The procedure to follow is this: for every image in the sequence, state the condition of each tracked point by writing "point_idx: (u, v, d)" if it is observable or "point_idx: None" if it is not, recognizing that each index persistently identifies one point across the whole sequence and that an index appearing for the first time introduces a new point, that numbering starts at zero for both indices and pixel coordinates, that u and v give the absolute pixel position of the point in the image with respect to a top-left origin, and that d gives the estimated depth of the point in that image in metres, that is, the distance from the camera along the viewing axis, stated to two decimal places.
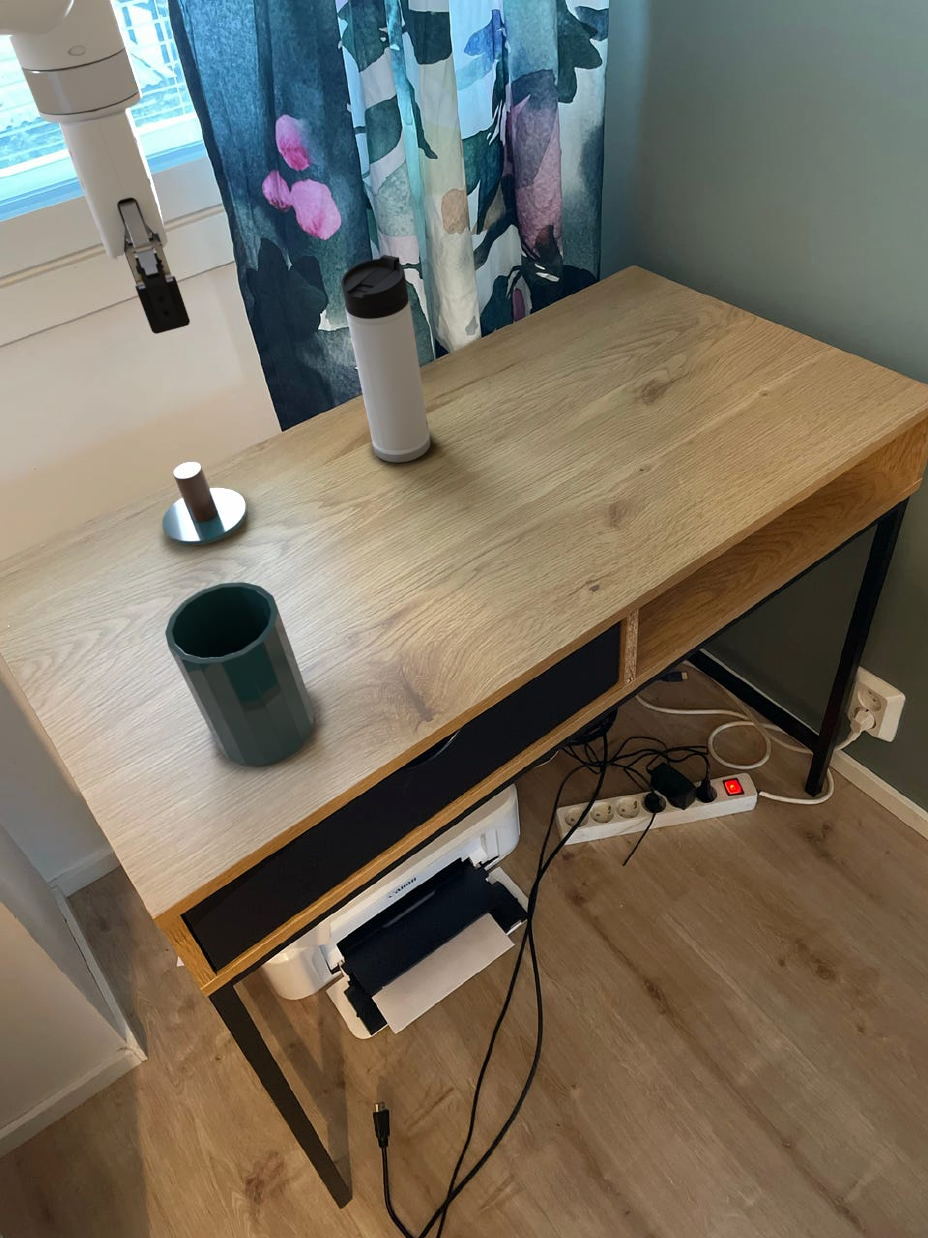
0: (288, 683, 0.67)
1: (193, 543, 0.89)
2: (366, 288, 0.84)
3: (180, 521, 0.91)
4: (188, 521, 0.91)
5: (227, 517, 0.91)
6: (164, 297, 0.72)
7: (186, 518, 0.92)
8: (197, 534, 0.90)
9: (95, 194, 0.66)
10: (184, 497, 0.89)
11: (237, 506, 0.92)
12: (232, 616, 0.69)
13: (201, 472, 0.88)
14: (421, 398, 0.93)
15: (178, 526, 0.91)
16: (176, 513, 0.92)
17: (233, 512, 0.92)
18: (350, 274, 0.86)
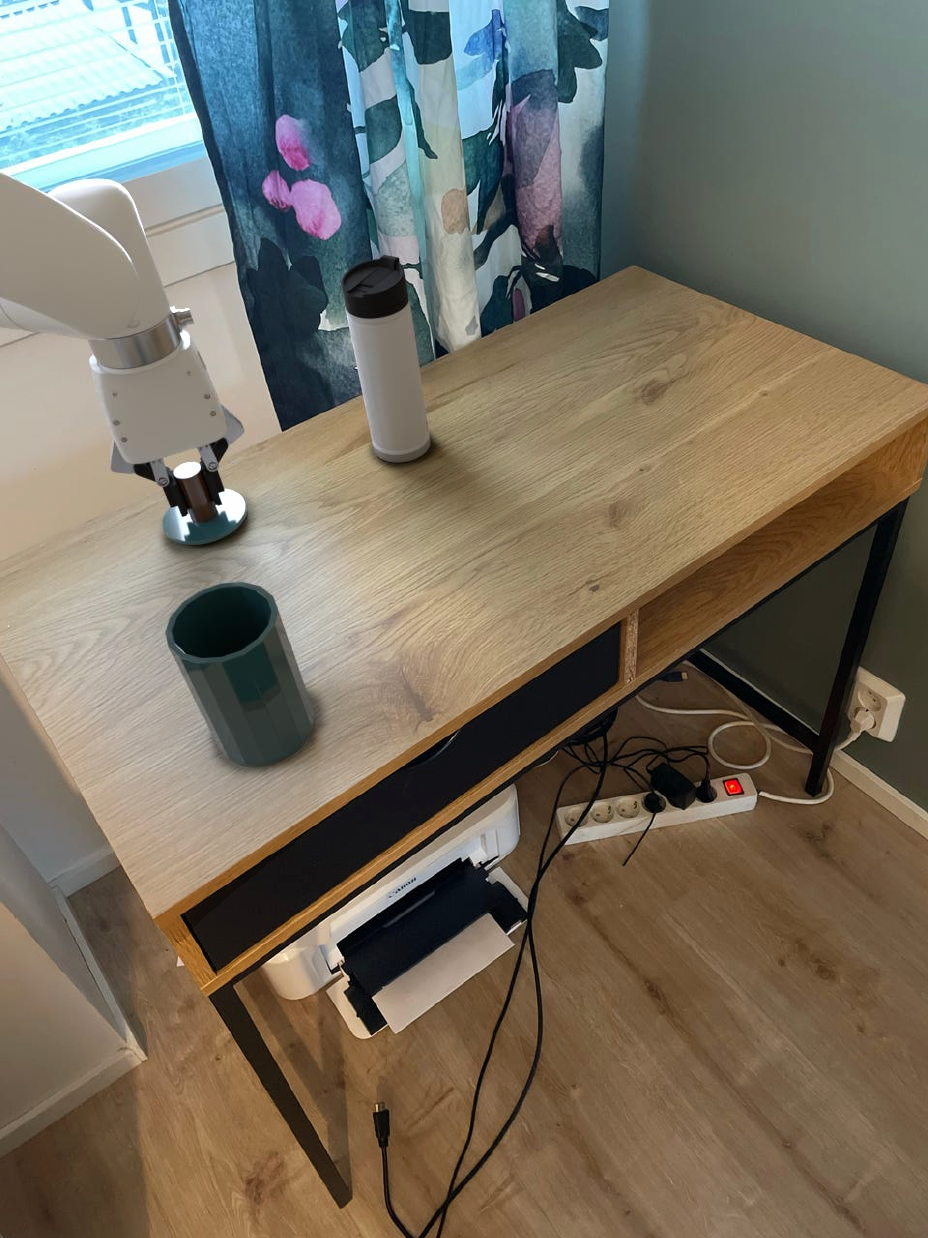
0: (288, 683, 0.67)
1: (193, 543, 0.89)
2: (366, 288, 0.84)
3: (180, 521, 0.91)
4: (188, 521, 0.91)
5: (227, 517, 0.91)
6: (163, 489, 0.88)
7: (186, 518, 0.92)
8: (197, 534, 0.90)
9: None
10: (184, 497, 0.89)
11: (237, 506, 0.92)
12: (232, 616, 0.69)
13: (201, 472, 0.88)
14: (421, 398, 0.93)
15: (178, 526, 0.91)
16: (176, 513, 0.92)
17: (233, 512, 0.92)
18: (350, 274, 0.86)
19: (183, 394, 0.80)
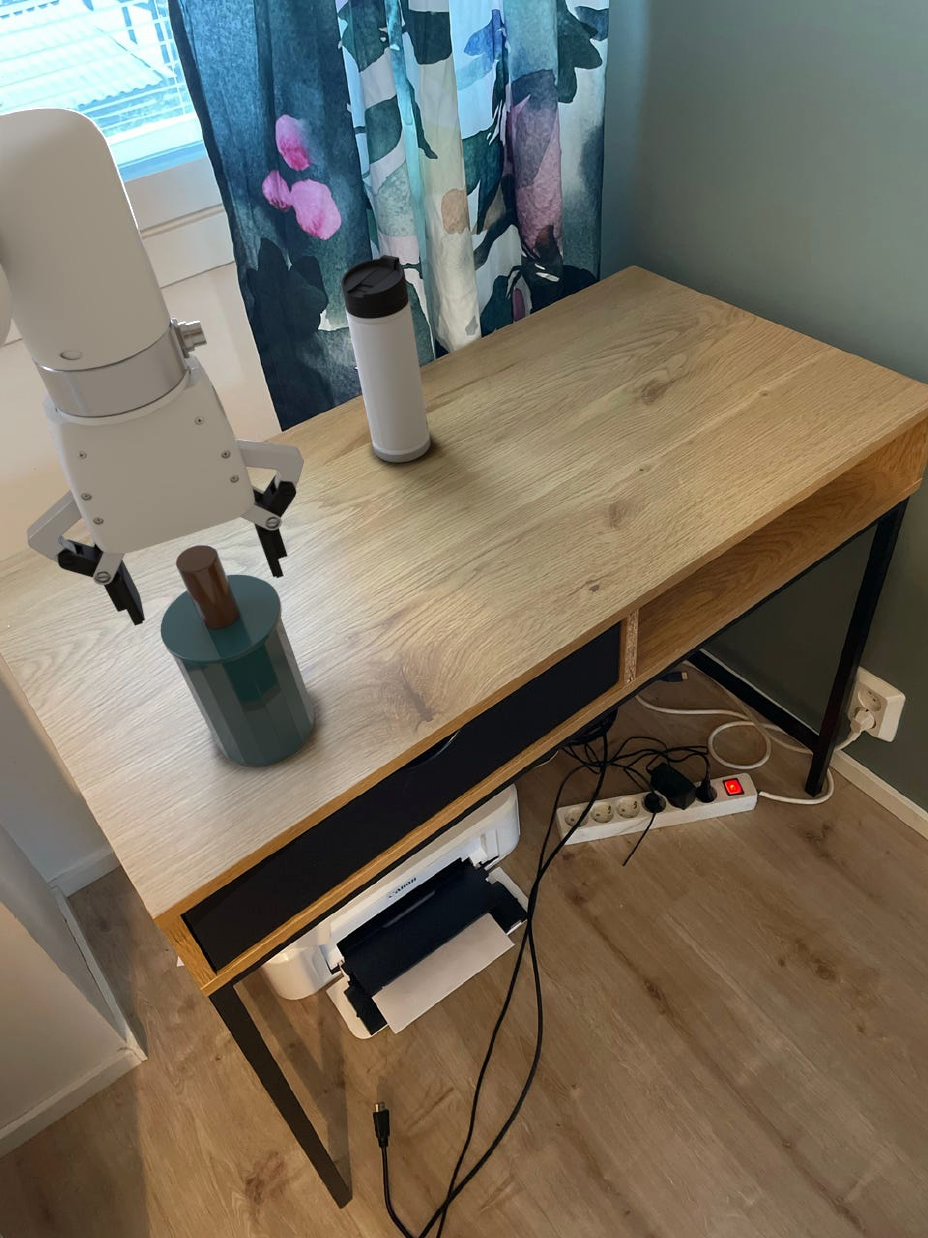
0: (288, 683, 0.67)
1: (205, 663, 0.61)
2: (366, 288, 0.84)
3: (185, 628, 0.63)
4: (197, 627, 0.63)
5: (254, 622, 0.63)
6: None
7: (195, 622, 0.64)
8: (211, 649, 0.62)
9: None
10: (192, 596, 0.61)
11: (268, 604, 0.64)
12: None
13: (217, 561, 0.60)
14: (421, 398, 0.93)
15: (183, 635, 0.63)
16: (180, 614, 0.64)
17: (262, 614, 0.63)
18: (350, 274, 0.86)
19: (190, 453, 0.52)
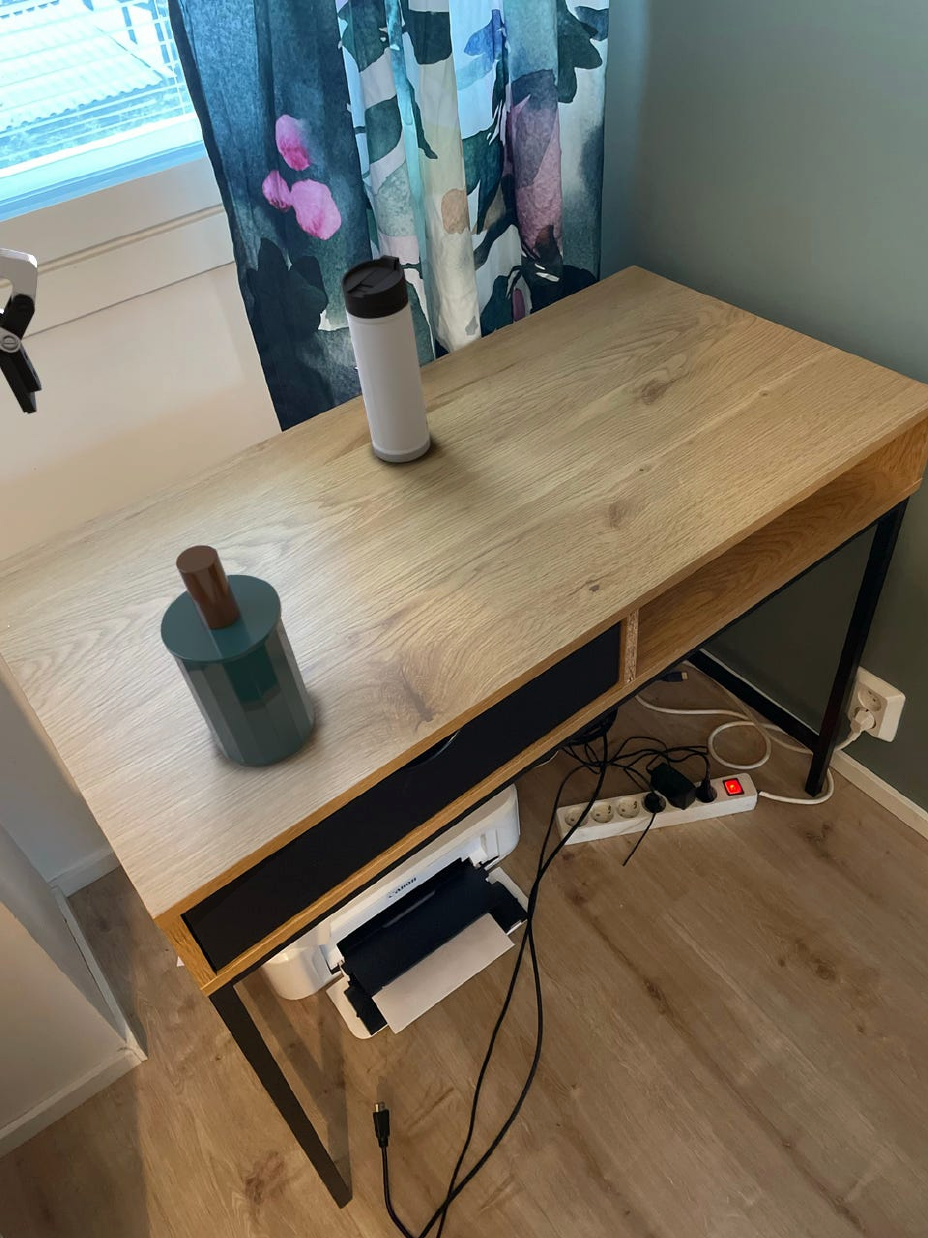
0: (288, 683, 0.67)
1: (205, 663, 0.61)
2: (366, 288, 0.84)
3: (185, 628, 0.63)
4: (197, 627, 0.63)
5: (254, 622, 0.63)
6: None
7: (195, 622, 0.64)
8: (211, 649, 0.62)
9: None
10: (192, 596, 0.61)
11: (268, 604, 0.64)
12: None
13: (217, 561, 0.60)
14: (421, 398, 0.93)
15: (183, 635, 0.63)
16: (180, 614, 0.64)
17: (262, 614, 0.63)
18: (350, 274, 0.86)
19: None
